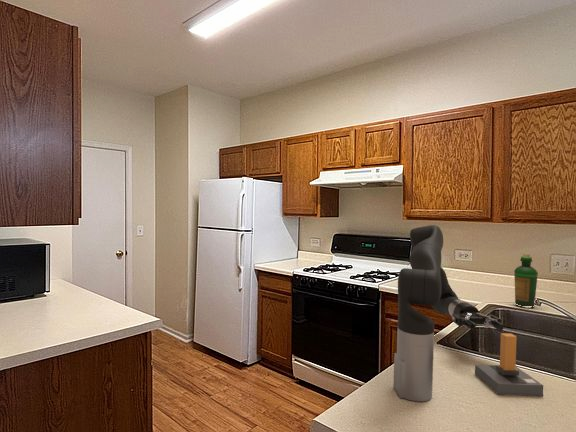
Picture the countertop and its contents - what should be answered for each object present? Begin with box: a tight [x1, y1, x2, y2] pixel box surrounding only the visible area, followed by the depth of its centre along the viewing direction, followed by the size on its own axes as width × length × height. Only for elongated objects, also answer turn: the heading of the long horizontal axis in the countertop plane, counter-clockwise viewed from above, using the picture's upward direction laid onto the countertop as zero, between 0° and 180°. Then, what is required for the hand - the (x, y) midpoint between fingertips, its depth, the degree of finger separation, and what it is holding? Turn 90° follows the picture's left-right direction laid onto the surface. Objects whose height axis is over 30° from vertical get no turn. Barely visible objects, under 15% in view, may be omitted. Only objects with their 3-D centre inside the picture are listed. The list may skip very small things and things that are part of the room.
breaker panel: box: [474, 364, 544, 397], centre depth 104 cm, size 12×12×3 cm
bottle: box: [513, 253, 539, 308], centre depth 194 cm, size 11×11×28 cm
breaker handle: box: [495, 332, 519, 376], centre depth 103 cm, size 4×4×11 cm
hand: (488, 327), depth 114 cm, fingers open, 8 cm apart
